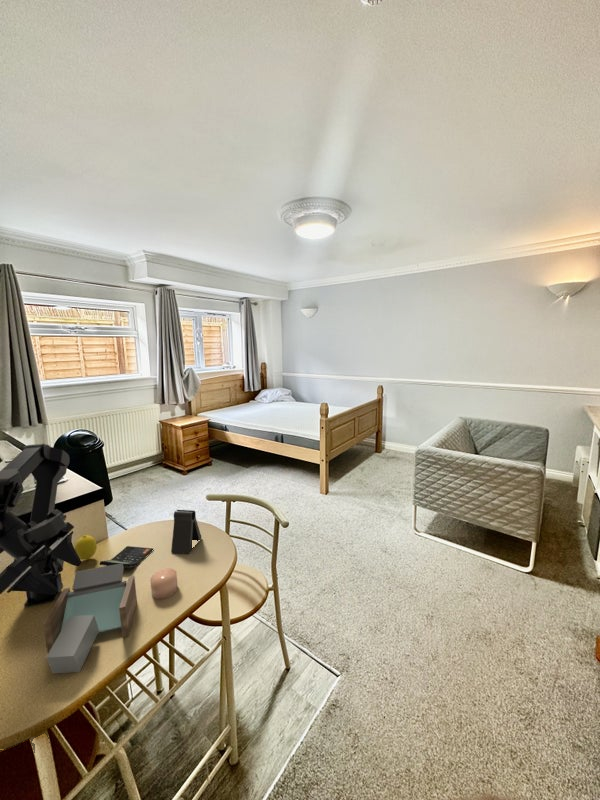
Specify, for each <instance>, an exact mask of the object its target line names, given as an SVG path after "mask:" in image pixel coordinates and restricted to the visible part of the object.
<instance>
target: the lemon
mask: <svg viewBox="0 0 600 800" xmlns="http://www.w3.org/2000/svg"><path fill="white" fill-rule="evenodd" d="M74 549H75V551H76V552H77V554H78V556H79V558H80V560H81V561H82V560H83V561H84V560H85V561H88V560H90V559H91V558H92V557H93V556H94V555H95V554H96V551H97V550H98V549H97V541H96V539H95V538H94V537H93V536H92V535H86V534H85V535H83V536H82V537H80V538H78V540H76V543H75V545H74Z"/></svg>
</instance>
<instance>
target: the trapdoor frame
mask: <svg viewBox="0 0 600 800" xmlns="http://www.w3.org/2000/svg"><path fill="white" fill-rule="evenodd" d="M135 579H136V578H135V574H134V575H129V576H128V577H127V581H126V583H127V584H126V587H125V591H124V594H123V597H122V600H121V604H120V607H119V611H120V620H121V628H120V629H121V635H122V636H121V637H122V638H126V637H129V635H130V630H131V628H132V623H133V619H134V615H135V610H136V606H137V602H138V598H137V589H136V580H135ZM69 592H71V589H70V587H66V588H63V590H62V591H61V593H60V595H59V596H58V598H57V600H56V602H55V603H54V605H53V607H52V609H51V610H50V612H49V614H48V615H47V617H46V619H45V621H44V623H43V630H44V637H45V645H46V651H47V654H48V653H49V651H50V650H51V648H52V646H53V644H54V643H55V641H56V639H57V637H58V636H59V634H60V632H61V628H62V623H63V618H64V614H65V609H66V604H67V599H68V593H69Z"/></svg>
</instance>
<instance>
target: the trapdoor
mask: <svg viewBox="0 0 600 800" xmlns="http://www.w3.org/2000/svg"><path fill="white" fill-rule="evenodd" d="M124 569H125V567H124V566H123V564H122V563H120V564H115V565H109V566H108V565H103V566H99V567H94V568H89V569H84V570H83V569H82V570H78V571H75V575H74V580H73V584H72V588H71V589H72V591H70V592H69V593H68V599H67V604H66V609H65V614H64V618H63V623H62V628H61V630H62V629H63V627H64V625H65V623H66V622H67V620H68V618H69V616H85V615H94V616H95V619H96V622H97V626H98V629H99V632H98V634H99V633H103V632H107V631H112V630H115V629H116V630H117V629H121V620H120V611H119V607H120V604H121V600H122V597H123V594H124V591H125V587H126V584H127V581H126V580H124V581H123V578H124V577H123V576H124Z"/></svg>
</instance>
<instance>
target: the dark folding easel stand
mask: <svg viewBox="0 0 600 800" xmlns="http://www.w3.org/2000/svg"><path fill="white" fill-rule="evenodd" d="M202 537H203V536H202V534H201V530H200V527H199V525H198V520H197V517H196V511H195V510H190V509H189V510H188V509H176V510H174V513H173V531H172V541H171V551H170V552H173V553H172V554H182V553H185V555H190V554H191V553H192V552H191V551H193V550H194V549H195V548H194V547H193V548H194V549H193V548H192V540H197V541H198V540H200V539H201V538H202ZM201 540H202V539H201ZM201 540H200V541H201ZM192 549H193V550H192ZM190 552H191V553H190ZM189 553H190V554H189Z"/></svg>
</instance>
